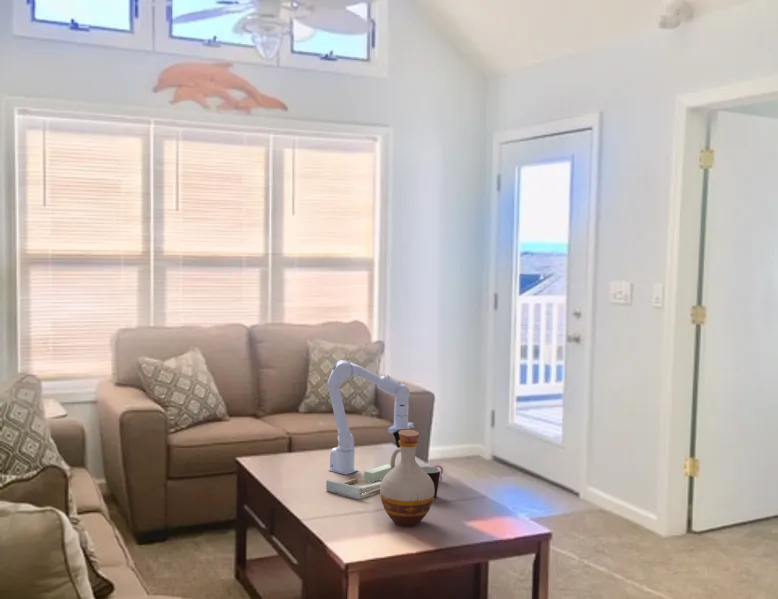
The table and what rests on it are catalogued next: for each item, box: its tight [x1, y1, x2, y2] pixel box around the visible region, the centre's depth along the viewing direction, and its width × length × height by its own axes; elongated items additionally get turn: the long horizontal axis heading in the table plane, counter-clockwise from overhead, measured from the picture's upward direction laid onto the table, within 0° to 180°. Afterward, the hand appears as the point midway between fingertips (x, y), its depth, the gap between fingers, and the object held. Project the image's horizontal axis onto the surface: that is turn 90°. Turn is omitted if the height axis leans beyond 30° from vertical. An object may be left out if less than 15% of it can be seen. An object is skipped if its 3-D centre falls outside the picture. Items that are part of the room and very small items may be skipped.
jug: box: [379, 429, 435, 528], centre depth 264 cm, size 20×18×30 cm
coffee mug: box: [420, 465, 441, 499], centre depth 292 cm, size 12×9×10 cm
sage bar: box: [363, 463, 391, 483], centre depth 314 cm, size 4×14×4 cm, turn 142°
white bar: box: [358, 481, 381, 493], centre depth 296 cm, size 2×14×2 cm, turn 131°
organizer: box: [325, 477, 380, 500], centre depth 297 cm, size 16×16×4 cm
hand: (400, 448), depth 324 cm, fingers closed
